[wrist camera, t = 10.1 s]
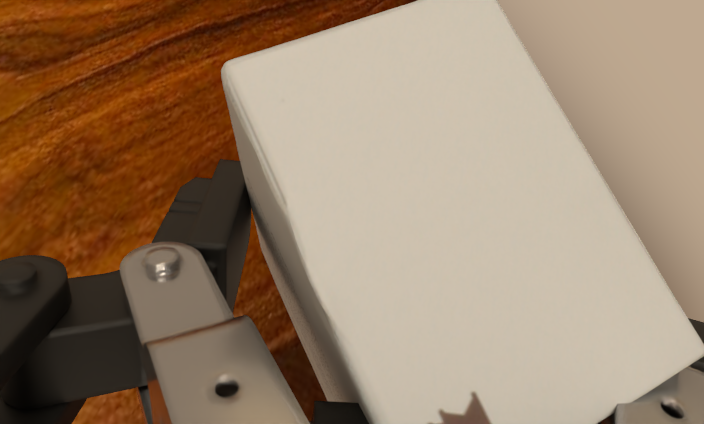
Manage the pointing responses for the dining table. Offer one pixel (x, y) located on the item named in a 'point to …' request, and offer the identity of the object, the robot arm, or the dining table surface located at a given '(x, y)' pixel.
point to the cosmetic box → (446, 226)
